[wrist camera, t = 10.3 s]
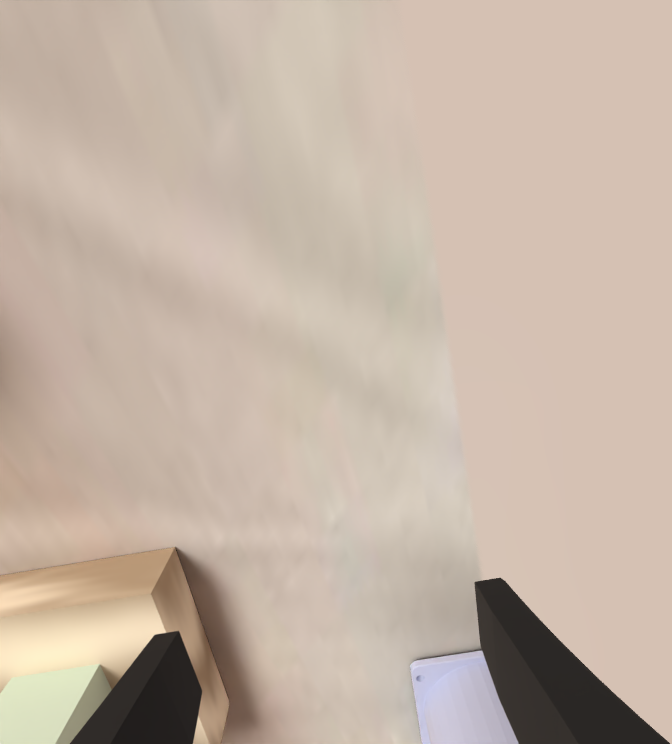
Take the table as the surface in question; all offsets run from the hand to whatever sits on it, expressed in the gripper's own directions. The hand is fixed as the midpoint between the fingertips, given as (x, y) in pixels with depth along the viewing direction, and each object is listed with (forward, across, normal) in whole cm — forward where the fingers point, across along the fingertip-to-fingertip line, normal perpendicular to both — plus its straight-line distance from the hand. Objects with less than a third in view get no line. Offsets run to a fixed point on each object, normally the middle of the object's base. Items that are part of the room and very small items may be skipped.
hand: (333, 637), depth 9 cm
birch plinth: (+10, +15, +11) cm, 21 cm away
